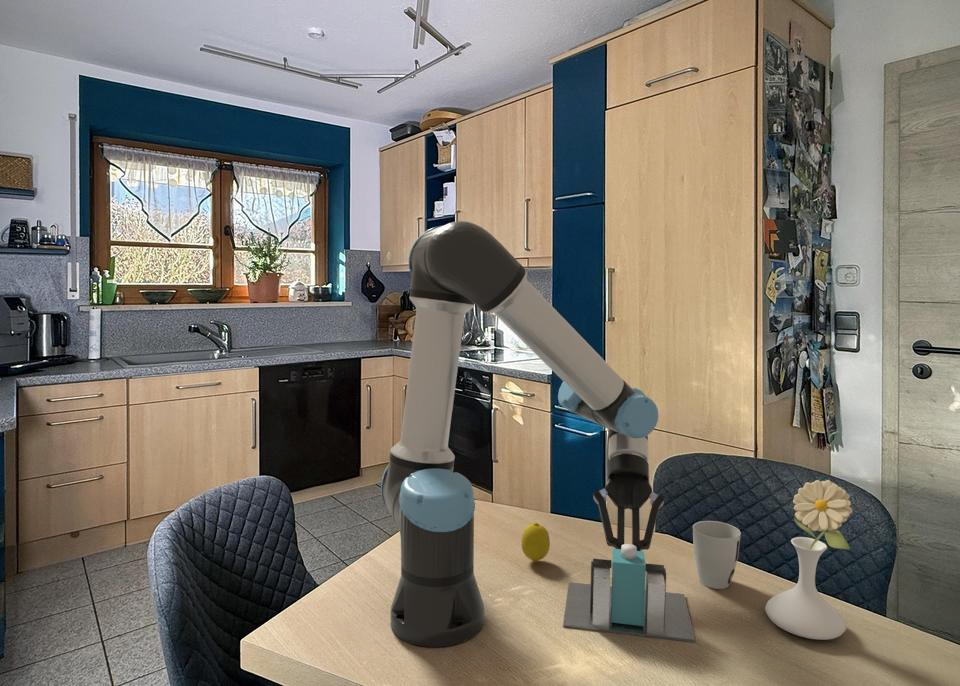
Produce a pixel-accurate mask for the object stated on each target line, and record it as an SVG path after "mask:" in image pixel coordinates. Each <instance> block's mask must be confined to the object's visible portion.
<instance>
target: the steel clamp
mask: <svg viewBox="0 0 960 686" xmlns="http://www.w3.org/2000/svg"><path fill="white" fill-rule="evenodd" d="M611 569H612V560H611V559H602V558H592V561H590V583H584V582H583V583H581V582H571V581H569V582H568V585H567V593H566V600H565V607H564V608H565V609H564V616H563V623H562V627H563V628H564V627H565V628H572V629H579V630H588V631H597V632H604V633H613V634H614V633H615V634H621V635H622V634H623V635H629V636H637V637H638V636H639V637H646V638H647V637H648V638H655V639H665V640H671V641H672V640H673V641H680V642H689V643H696V638H695V633H694V629H693V626H692V621H691V617H690V612H689V609H688V605H687V600H686V596H685V593H678V592H677V593H676V592H668V591H667V589H666V588H667V571H666V568H665V565H663V564H656V563H655V564H654V563H646V574H645V606H644V626H637V625H629V624H620V623H612V622H611V596H612V585H611Z"/></svg>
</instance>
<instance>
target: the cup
mask: <svg viewBox="0 0 960 686" xmlns="http://www.w3.org/2000/svg"><path fill="white" fill-rule="evenodd" d="M741 535H742V533H741V531H740V529H739V528H738V527H735V526H734V525H731V524H729V523H726V522H722V521H715V520H702V521H701V520H700V521H698V522H695V523H694V524H692V540H693V541H692V544H693V545H692V546H693V555H694V562H695V568H696V572H697V575H698V579H699V582H700V583H701V584H702V585H703V586H704V587H705V586H706V587H708V588H710V589H713V590H714V589H715V590H724V589H727V588H728V587H729V586H730V584H731V581H732V579H733V577H734V575H735V570H736V568H737V562H738V559H739V553H740V542H741Z"/></svg>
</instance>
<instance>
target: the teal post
mask: <svg viewBox="0 0 960 686" xmlns="http://www.w3.org/2000/svg"><path fill="white" fill-rule="evenodd" d="M646 564H647V563H646V555H645V551H644V550H641V551H637V547H636V546H635V545H632V544H631V543H624V544H623V545H622V546H621V549H616V548H612V568H611V586H612V596H611V622H612V623H620V624H629V625H637V626H644V606H645V584H646Z"/></svg>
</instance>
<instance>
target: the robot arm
mask: <svg viewBox="0 0 960 686" xmlns="http://www.w3.org/2000/svg"><path fill="white" fill-rule="evenodd" d="M408 268H409V269H408V270H409V273H410V275H411V281H410V288H409V289H410V290H409V300H410V301H411V303H412V304H413V306H414V307H415V309H416V311H415V319H414V326H413V327H414V328H413V337H412V344H411V350H410V361H409V368H408V376H407V383H406V384H407V385H406V386H407V387H406V392H405V399H404V408H403V417H402V425H401V432H400V434H401V435H400V440H399V441H398V442H397V443H396V444H394V445H393V446H391V448H390V451H389V452H390V453H389V459H388V465H387V466H386V468H385V470H384V472H383V474H382V478H381V482H380V492H381V493H380V494H381V499H382V502H383V504H384V507H385V508H386V510H387V512H389V514H390V516H391V517H392V520H393V521H394V523H395V525H396V527H397V529H398V531H399V535H400V571H401V572H400V578H399V581H398V584H397V587H396V591H395V594H394V598H393V601H392V603H391V606H390V627H391V629H392V632H393V633H394V634H395V635H396V636H397V637H398V638H399V639H402V640H403V641H404V642H407V643H409V644H411V645H415V646H420V647H427V648H440V647H441V648H442V647H451V646H455V645H457V644H461V643H463V642H466V641H468V640H470V639H472V638H473V637H475V636H476V635H477V634H478V633H479V632H480V631H481V630H482V629H483V626H484V624H485V604H484V600H483V597H482V594H481V591H480V588H479V585H478V582H477V580H476V576H475V573H474V572H475V571H474V567H475V566H474V565H475V563H474V558H475V555H474V552H475V551H474V550H475V549H474V548H475V546H474V545H475V541H474V540H475V535H474V534H475V509H476V503H475V500H476V499H475V497H474V489H473V485H472V484H471V481H470V480H469V479H468V478H467V477H466V476H464V475H463V474H461V473H459V472H457V471H455V472H454V468H455V467H454V465H455V458H456V456H455V454H454V453H453V451H452V450H451V448H449V439H450V431H451V423H452V414H453V408H454V401H455V391H456V385H457V375H458V369H459V361H460V353H461V345H462V337H463V329H464V324H465V323H464V321H465V315H466V314H467V313H468V312H469V311H471V310H472V309H474V307H475V305H476V306H477V308H478V309H480V310H481V311H482V312H483V313H484V314H494V315H495V316H496V317H497V318H498V319H499V320H500V321H501V322H502V323H503V324H505V326H506V327H507V328H508V329H510V331H511V332H512V333H514V334H515V336H516V337H517V338H518V339H520V340H521V342H522V343H524V344H525V346H527V347H528V348H529V349H530V350H531V351H532V352H533V353H534V354H535V356H537V357H538V358H539V360H541V361H542V362H543V363H544V364H545V365H546V366H547V367H548V368H549V369H550V370H551V371H553V372H554V374H555V375H556V376H557V377H559V379H560V380H561V381H562V383H561V385H560V387H559V388H558V389H559V390H558V395H557V399H558V402H559V405H560V406H561V407H563V408H564V409H565V410H568V411H569V412H570V413H573V414H576V415H578V416H580V417H581V418H584V419H586V420H588V421H591V422H593V423H595V424H597V425H598V426H601V427H602V428H605V429H607V430H608V450H607V451H608V452H607V453H608V454H607V455H608V462H607V482H606V483H605V486H604V488H602V489H600V490H598V489H596V490H594V491H593V493H592V495H593V501H594V503H595V504H596V505H597V508H598V510H599V515H600V519H601V524H602V528H603V532H604V537H605V541H606V545H607V546H608V547H613V549H621V546H622V545H623V544H625V518H626V517H625V511H626V510H628V509H629V510H630V511H631V543H632V545H635V546H636V547H637V551H644V550H649V549H650V548H651V543H652V539H653V534H654V530H655V526H656V522H657V517H658V514H659V511H660V510H661V509H662V507H663V506H664V505H665V504H664V503H665V496H664V495H663V494H659V495H658V494H657V493H655V492H654V491H653V488H652V486H651V484H650V472H649V471H650V469H649V467H650V465H649V435H650V434H652V432H653V431H654V430H655V428H656V426H657V425H658V422H659V409H658V406H657V404H656V402H655V401H653V399H651V398H650V397H648V396H646V395H645V393H644V392H643V391H642V390H641V389H639V388H637V387H631V385H629V384H628V383H627V382H626V381H625V380H624V379H623V378H622V377H621V376H620V375H619V374H618V373H617V372H616V371H615V370H614V369H613V368H612V367H611V365H609V364H608V363H607V362H606V360H604V359H603V357H602V356H601V355H600V354H599V353H598V352H597V351H596V350H595V349H594V348H593V347H592V346H591V345H590V344H589V343H588V342H587V341H586V339H584V338H583V336H581V335H580V333H578V331H576V329H575V328H574V327H573V326H572V325H571V324H570V323H569V322H568V321H567V320H566V319H565V318H564V317H563V316H562V315H561V314H560V313H559V312H558V311H557V309H556V308H555V307H553V305H552V304H550V302H549V301H548V300H547V299H546V298H545V297H544V296H543V295H542V294H541V293H540V292H539V291H538V289H536V288H535V287H534V286H533V285H532V284H531V283H530V281H529V280H527V277H528V271H527V270H526V268H525V266H523V265H522V264H521V263H520V262H519V261H518V260H517V259H516V258H515V256H513V255H512V253H510V251H509V250H508V249H507V248H506V247H504V245H503V244H502V243H501V242H500V241H499V240H498V239H497V238H495V236H494V235H492V234H491V233H490V232H489V231H487V229H485V228H483V227H482V226H480V225H478V224H476V223H473V222H469V221H466V220H465V221H462V220H459V221H452V222H448V223H446V224H444V225H439V226H434V227H432V228H430V229H427V230H426V231H424V232H423V233H422V234H421V235H419V237H417V239H415V241H414V243H413V245H412V247H411V249H410V251H409V255H408ZM607 496H608V498H609V499H610V500H611V502H612V504H613V505H614V506H616V508H617V515H616V516H617V520H616V521H617V522H616V523H617V525H616V537H615V536H614V533H613V528H612V525H611V524H612V523H611V520H610V515H609V512H608V508H607V504H606V503H607ZM649 499H650V501H649V504H650V506H651V507H650V512H649V516H648V521H647V524H646V527H645V532H644V536H643V539H640V538H641V534H640V532H641V531H640V529H641V527H640V525H641V524H640V519H641V518H640V509H641V508H643V505H645V504H646V503H647V501H648V500H649Z"/></svg>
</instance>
